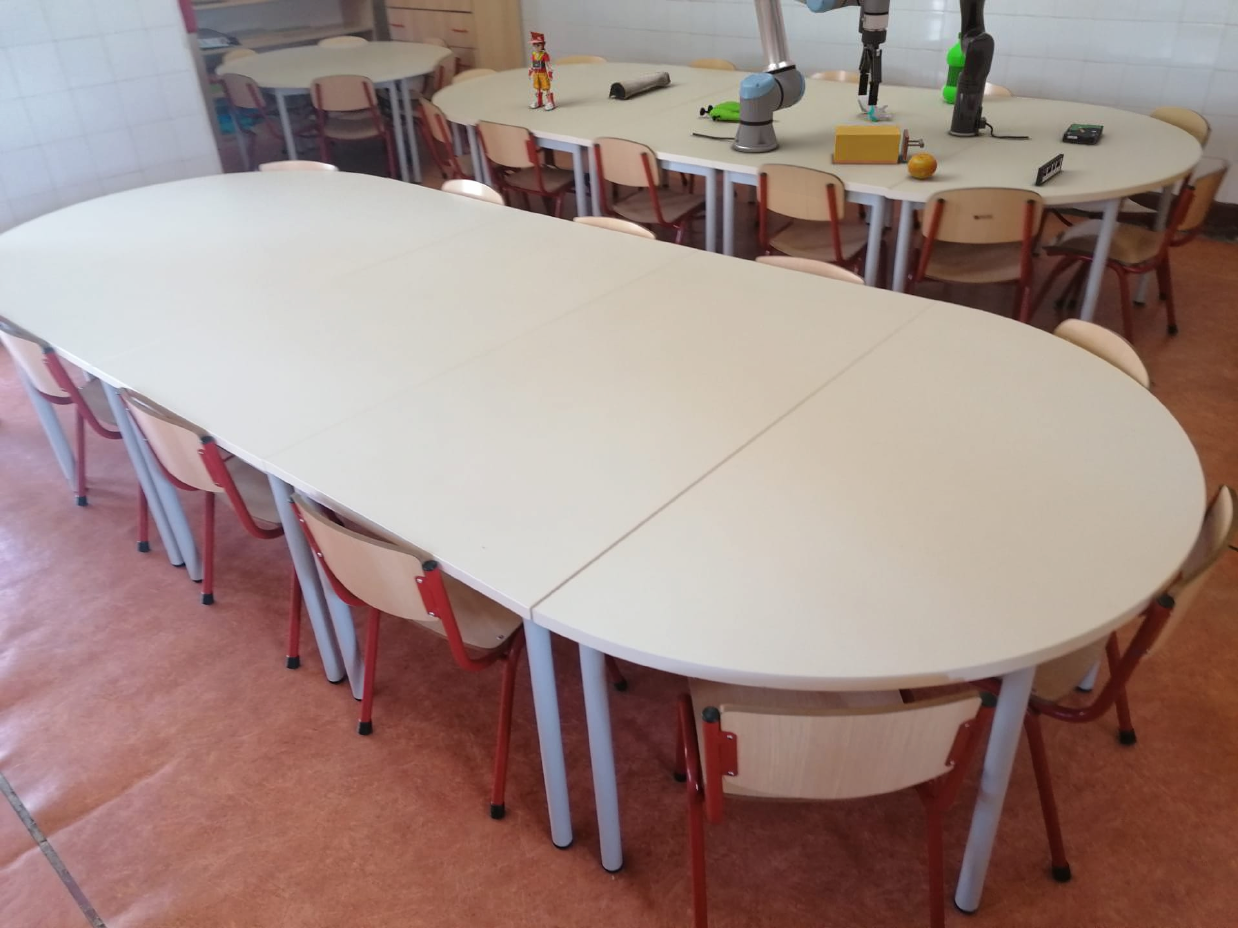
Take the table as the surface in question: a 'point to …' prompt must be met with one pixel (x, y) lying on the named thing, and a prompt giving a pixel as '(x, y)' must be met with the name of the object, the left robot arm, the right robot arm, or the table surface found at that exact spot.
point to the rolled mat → (638, 84)
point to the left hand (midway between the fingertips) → (867, 100)
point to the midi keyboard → (1049, 169)
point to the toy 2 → (723, 111)
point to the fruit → (922, 165)
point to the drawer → (906, 143)
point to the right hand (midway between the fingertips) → (866, 69)
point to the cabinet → (867, 144)
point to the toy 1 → (541, 71)
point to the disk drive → (1083, 133)
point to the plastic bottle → (953, 71)
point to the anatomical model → (872, 108)
